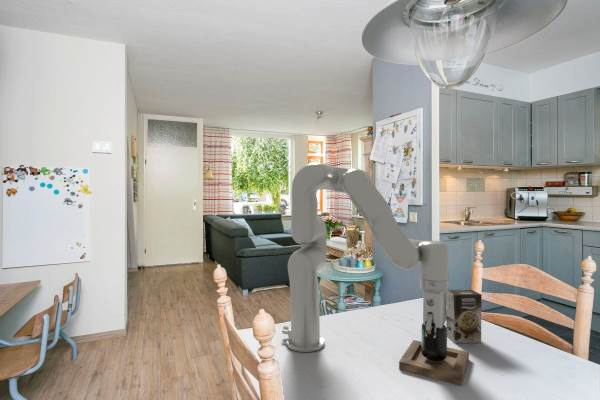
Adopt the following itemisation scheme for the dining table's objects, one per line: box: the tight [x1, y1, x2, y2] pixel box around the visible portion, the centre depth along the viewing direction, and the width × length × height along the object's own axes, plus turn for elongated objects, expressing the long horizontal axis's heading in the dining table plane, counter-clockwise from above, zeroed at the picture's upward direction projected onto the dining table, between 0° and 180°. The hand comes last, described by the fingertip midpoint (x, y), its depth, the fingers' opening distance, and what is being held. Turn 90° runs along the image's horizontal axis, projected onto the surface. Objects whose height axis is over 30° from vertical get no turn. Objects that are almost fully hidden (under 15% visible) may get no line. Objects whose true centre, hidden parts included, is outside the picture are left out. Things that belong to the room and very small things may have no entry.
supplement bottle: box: [421, 323, 448, 361], centre depth 97 cm, size 7×7×12 cm
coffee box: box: [445, 289, 483, 344], centre depth 113 cm, size 9×6×16 cm
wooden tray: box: [398, 339, 470, 387], centre depth 98 cm, size 16×16×2 cm
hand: (434, 344), depth 98 cm, fingers closed on supplement bottle, 6 cm apart
